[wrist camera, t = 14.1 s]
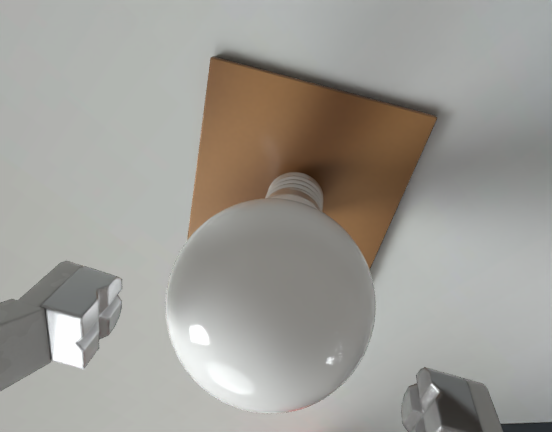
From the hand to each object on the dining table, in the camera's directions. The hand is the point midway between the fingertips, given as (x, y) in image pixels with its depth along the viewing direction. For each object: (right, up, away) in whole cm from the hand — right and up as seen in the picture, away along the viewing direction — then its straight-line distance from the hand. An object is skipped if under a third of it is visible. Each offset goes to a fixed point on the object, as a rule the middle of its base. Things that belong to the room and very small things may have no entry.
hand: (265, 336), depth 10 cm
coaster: (+1, +5, +9) cm, 10 cm away
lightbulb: (+1, +4, +9) cm, 10 cm away
